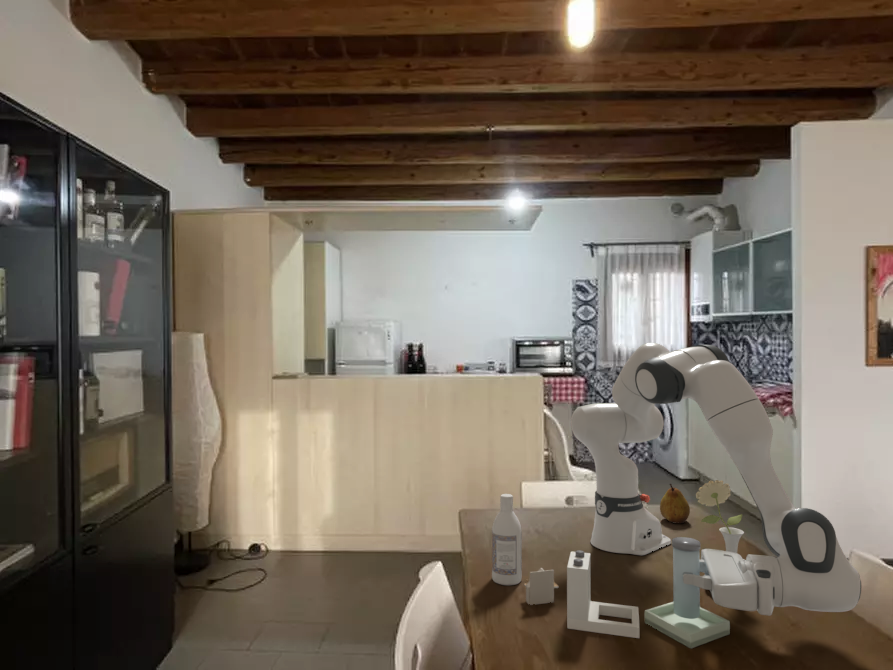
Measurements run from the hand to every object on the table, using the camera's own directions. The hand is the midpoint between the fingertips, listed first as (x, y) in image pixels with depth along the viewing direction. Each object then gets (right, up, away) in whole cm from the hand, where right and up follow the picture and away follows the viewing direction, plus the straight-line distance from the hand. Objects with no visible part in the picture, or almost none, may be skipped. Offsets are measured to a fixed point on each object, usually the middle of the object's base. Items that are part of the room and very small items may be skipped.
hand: (681, 571), depth 116 cm
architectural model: (-26, -12, +12) cm, 31 cm away
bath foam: (-32, -11, +23) cm, 41 cm away
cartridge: (+1, -8, 0) cm, 8 cm away
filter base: (-15, -11, +2) cm, 19 cm away
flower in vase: (+17, -11, +16) cm, 26 cm away
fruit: (+25, -11, +67) cm, 72 cm away
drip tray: (+1, -11, 0) cm, 11 cm away
